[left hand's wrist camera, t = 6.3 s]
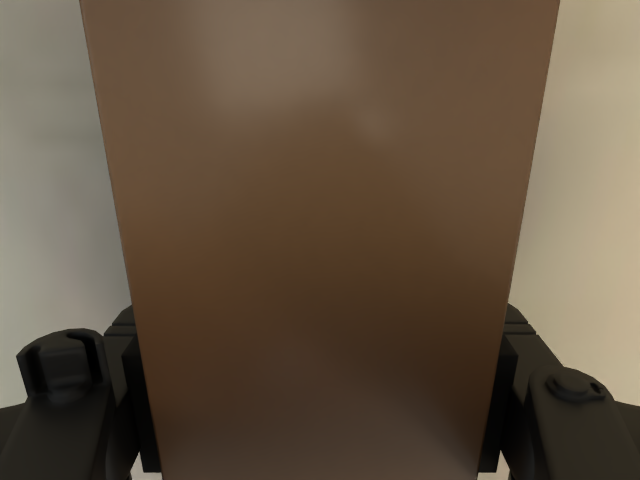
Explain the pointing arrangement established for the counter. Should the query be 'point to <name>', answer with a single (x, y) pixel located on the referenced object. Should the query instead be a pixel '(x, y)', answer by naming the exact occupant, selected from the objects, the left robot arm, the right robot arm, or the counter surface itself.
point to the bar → (319, 223)
